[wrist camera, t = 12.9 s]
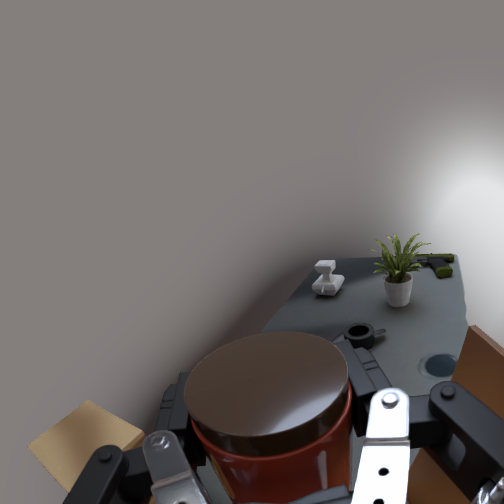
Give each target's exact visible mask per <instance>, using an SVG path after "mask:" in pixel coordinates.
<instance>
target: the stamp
mask: <svg viewBox="0 0 504 504" xmlns="http://www.w3.org/2000/svg"><path fill="white" fill-rule="evenodd" d="M315 269H316V271H317V272H318V273H322V275H321V276H320V277H319V278H318V279H317V280H316V282H315V283H314V284H313V285H312V289H313V290H314V291H315V292H316V293H318V294H319V295H335V294H336V292H337V291H338V290H339V289H340V286H341V285H342V283H343V281H344V277H343V276H342V275H332V271H333V270H334V269H335V260H321V261H319V262H318V263H317V264H316V265H315Z"/></svg>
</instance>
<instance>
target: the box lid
mask: <svg viewBox="0 0 504 504" xmlns="http://www.w3.org/2000/svg"><path fill="white" fill-rule="evenodd" d="M451 381H453V382H457V383H459V384H460V385H462V386H463V387H464V388H465V389H467V390H468V391H469V392H470V393H472V394H473V395H474V396H475V397H477V398H478V399H479V400H480V401H481V402H483V403H484V404H485V405H486V406H488V407H489V408H490V409H491V410H492V411H494V412H495V413H496V414H497V415H499V416H500V417H501V418H502V419H503V420H504V348H502V347H501V346H500V345H499V344H498V343H496V342H495V341H494V340H493V339H492V338H490V337H489V336H488V335H487V334H486V333H484V332H483V331H482V330H481V329H480V328H478V327H477V326H476V325H472V326H469V327H468V331H467V334H466V338H465V341H464V344H463V347H462V350H461V353H460V356H459V359H458V362H457V365H456V368H455V371H454V373H453V376H452V379H451ZM407 495H408V498H409V500H410V502H411V504H471V502H470V501H469V500H468V499H467V498H466V496H465V495H464V494H463V493H462V492H461V491H460V490H459V488H458V487H457V486H456V485H455V484H454V483H453V482H452V481H451V479H450V478H449V477H448V476H447V475H446V474H445V473H444V472H443V470H442V469H441V468H440V467H439V466H438V465H437V464H436V462H435V461H434V460H433V459H432V458H431V457H430V456H429V455H428V453H427V452H426V451H425V450H424V449H423V448H421V449H420V451H419V453H418V454H417V456H416V458H415V460H414V462H413V464H412V465H411V467H410V469H409V471H408V482H407Z"/></svg>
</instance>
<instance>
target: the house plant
mask: <svg viewBox="0 0 504 504" xmlns="http://www.w3.org/2000/svg"><path fill="white" fill-rule="evenodd" d="M417 235H418V234H416V235H414V236H413V237H412V238H410V240H409V241H408V242H407V244H406V246H405V247H404V250H403V255H402V258H401V247H400V241H399V239H398V238H397V236H396V235H395V234H394V238H395V243H396V244H394V242H393V241H392V240H391V239H390V238H389V237H388V236H387V237H388V238H389V239H390V240H391V242H392V244H393V246H394V249H395V253H396V258H397V261H396V259H395V258H394V257H393V255H392V253H391V251H390V252H389V250H388V248H387V247H386V246H385V245H384V244H383V243H381V242H380V241H378V240H376V241H377V242H378V243H379V244H380V245H381V247H382V249H383V250H382V257H383V260H384V261H385V263H386V265H387V266H385V265H382V264H379V263H374V264H376V265H378V266H380V267H381V268H384V269H385V270H387V271H388V272H389V274H387V273H386V272H384V271H382V270H376V271H375V272H380V273H384V274H386V275H385V276H384V278H383V281H384V285H385V290H386V294H387V299H388V304H389V305H390V306H393V307H403V306H406V305H407V304H408V303H409V300H410V294H411V287H412V280H413V276H412V275H411V274H410V273H408V272H410V271H419V270H418V269H416V268H411V269H409V270H407V269H408V266H409V264H410V262H411V260H412V259H413V258H414V256H415V255H416V254H417V253H415V254H413V255H412V253H413V252H414V251H415V250H416V249H417V248H418V247H420V246H422V245H425V244H429V243H424V244H420V245H419V246H417V245H418V244H419V243H420V242H419V243H417V244H416V245H415V246H414V247H413V248H412V250H411V252H410V253H408V252H409V250H410V249H411V248H410V249H409V246H410V244H411V243H412V241H413V240H414V238H415V237H416V236H417ZM408 249H409V250H408ZM407 253H408V254H407ZM411 255H412V256H411ZM406 261H407V262H406ZM405 263H406V264H405ZM390 264H391V265H390ZM404 265H405V266H404ZM413 266H420V267H422V266H421V264H420V263H414V264H412V265H411V266H410V267H413ZM404 267H405V268H404ZM410 267H409V268H410ZM403 269H404V271H403Z"/></svg>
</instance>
